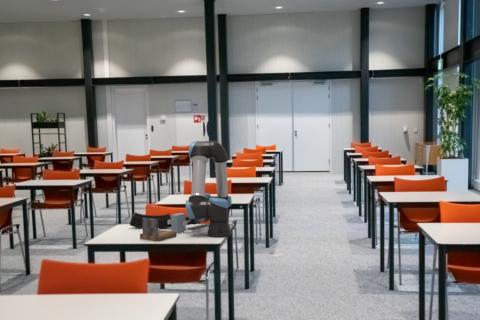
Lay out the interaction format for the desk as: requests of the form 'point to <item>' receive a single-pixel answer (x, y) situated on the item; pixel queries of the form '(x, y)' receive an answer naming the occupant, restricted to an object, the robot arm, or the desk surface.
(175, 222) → the slate gray rectangular prism
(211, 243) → the desk surface
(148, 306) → the desk surface
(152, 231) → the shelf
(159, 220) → the magazine
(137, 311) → the desk surface
